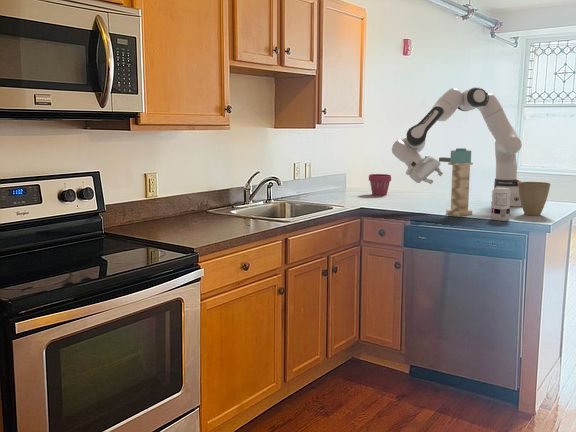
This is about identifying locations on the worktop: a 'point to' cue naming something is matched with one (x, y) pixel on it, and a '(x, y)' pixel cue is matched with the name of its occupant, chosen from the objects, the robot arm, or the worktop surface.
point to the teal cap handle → (458, 156)
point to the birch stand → (460, 189)
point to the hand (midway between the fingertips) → (437, 178)
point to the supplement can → (501, 203)
